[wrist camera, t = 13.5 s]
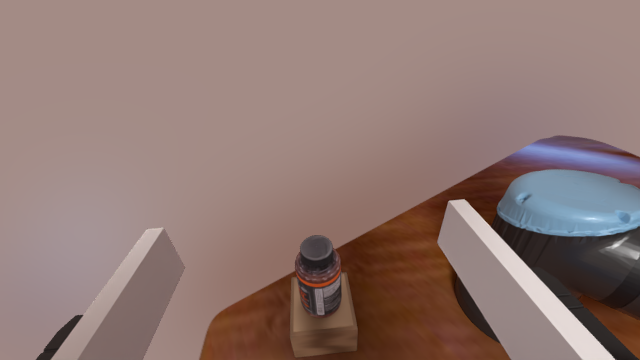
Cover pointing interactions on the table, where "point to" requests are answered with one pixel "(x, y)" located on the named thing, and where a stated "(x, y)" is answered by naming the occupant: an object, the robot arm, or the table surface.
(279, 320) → the table surface
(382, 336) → the table surface
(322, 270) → the supplement bottle
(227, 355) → the table surface
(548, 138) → the table surface
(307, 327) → the light wooden box
